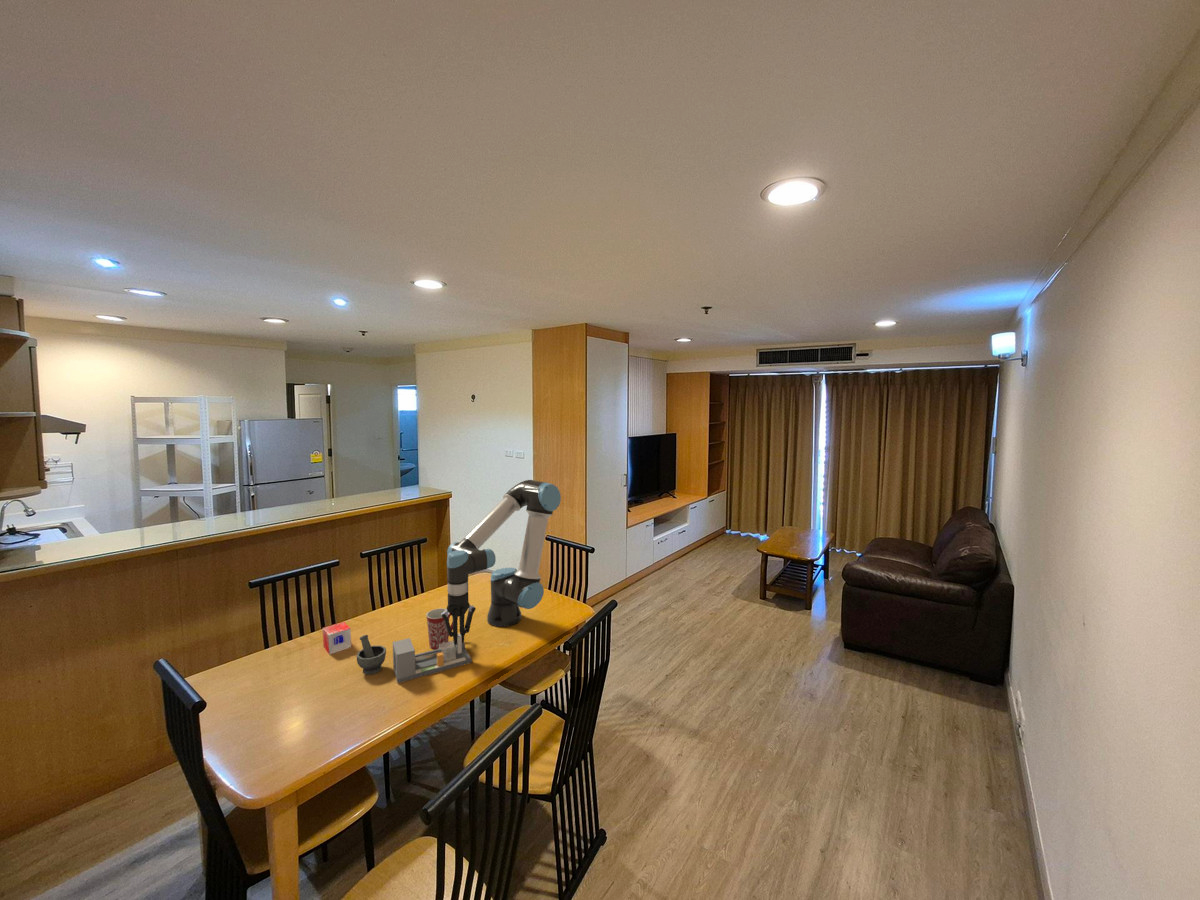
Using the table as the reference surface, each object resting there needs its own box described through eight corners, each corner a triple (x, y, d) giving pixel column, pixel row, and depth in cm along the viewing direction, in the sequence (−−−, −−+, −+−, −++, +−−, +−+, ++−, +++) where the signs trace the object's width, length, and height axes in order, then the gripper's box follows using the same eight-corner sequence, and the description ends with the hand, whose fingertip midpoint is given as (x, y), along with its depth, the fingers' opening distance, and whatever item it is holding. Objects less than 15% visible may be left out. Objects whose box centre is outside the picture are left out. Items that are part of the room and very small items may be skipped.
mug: (434, 653, 184) (433, 620, 183) (422, 645, 190) (421, 613, 189) (462, 641, 194) (462, 610, 192) (450, 634, 199) (450, 603, 198)
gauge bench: (464, 650, 186) (463, 625, 185) (471, 662, 178) (471, 636, 177) (393, 669, 173) (392, 642, 172) (397, 683, 164) (396, 654, 163)
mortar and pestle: (391, 668, 173) (390, 637, 172) (366, 680, 166) (365, 648, 164) (375, 658, 180) (374, 628, 179) (350, 670, 172) (349, 638, 171)
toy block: (345, 640, 194) (344, 621, 193) (351, 647, 188) (350, 628, 187) (323, 646, 188) (322, 628, 187) (329, 654, 182) (328, 635, 182)
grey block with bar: (452, 653, 181) (452, 640, 181) (457, 661, 175) (457, 648, 175) (398, 667, 171) (397, 654, 171) (401, 676, 165) (400, 663, 165)
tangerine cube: (442, 662, 174) (442, 652, 174) (443, 664, 173) (443, 654, 172) (436, 663, 173) (436, 653, 173) (438, 666, 172) (437, 656, 171)
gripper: (472, 585, 184) (472, 642, 187) (438, 592, 177) (439, 651, 180) (478, 592, 178) (478, 651, 180) (442, 599, 171) (443, 660, 173)
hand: (458, 651), depth 180 cm, fingers closed
